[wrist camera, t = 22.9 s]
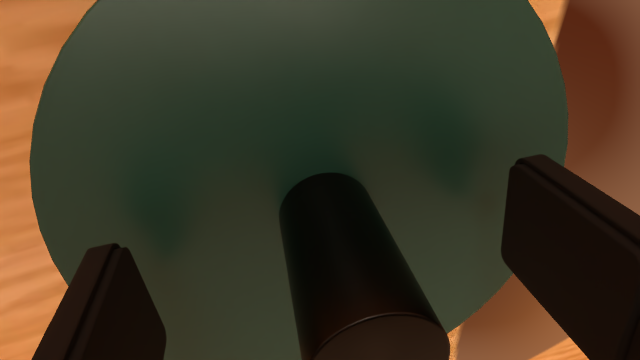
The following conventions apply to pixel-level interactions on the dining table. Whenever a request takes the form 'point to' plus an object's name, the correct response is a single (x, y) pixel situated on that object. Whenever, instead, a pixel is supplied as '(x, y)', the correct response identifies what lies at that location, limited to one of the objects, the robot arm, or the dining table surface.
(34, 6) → the dining table surface
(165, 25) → the lid
